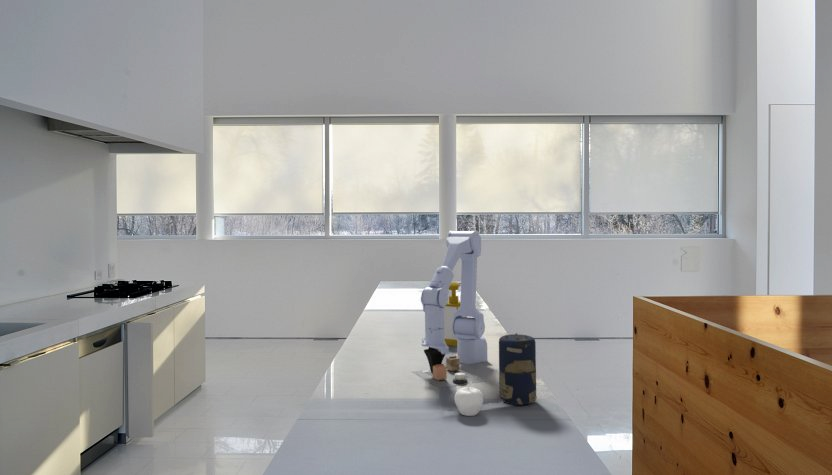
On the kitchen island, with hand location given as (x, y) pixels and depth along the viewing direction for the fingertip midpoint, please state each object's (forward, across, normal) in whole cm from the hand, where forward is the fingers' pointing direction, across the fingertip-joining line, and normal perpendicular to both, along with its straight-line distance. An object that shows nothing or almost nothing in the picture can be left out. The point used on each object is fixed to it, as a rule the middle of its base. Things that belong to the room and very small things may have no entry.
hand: (435, 373), depth 174 cm
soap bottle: (+2, -46, +31) cm, 55 cm away
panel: (+2, +1, +4) cm, 4 cm away
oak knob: (+1, -4, +8) cm, 9 cm away
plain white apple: (+2, +30, -5) cm, 31 cm away
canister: (+2, +27, +11) cm, 29 cm away
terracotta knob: (+1, +3, 0) cm, 3 cm away
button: (+1, +8, +4) cm, 9 cm away
